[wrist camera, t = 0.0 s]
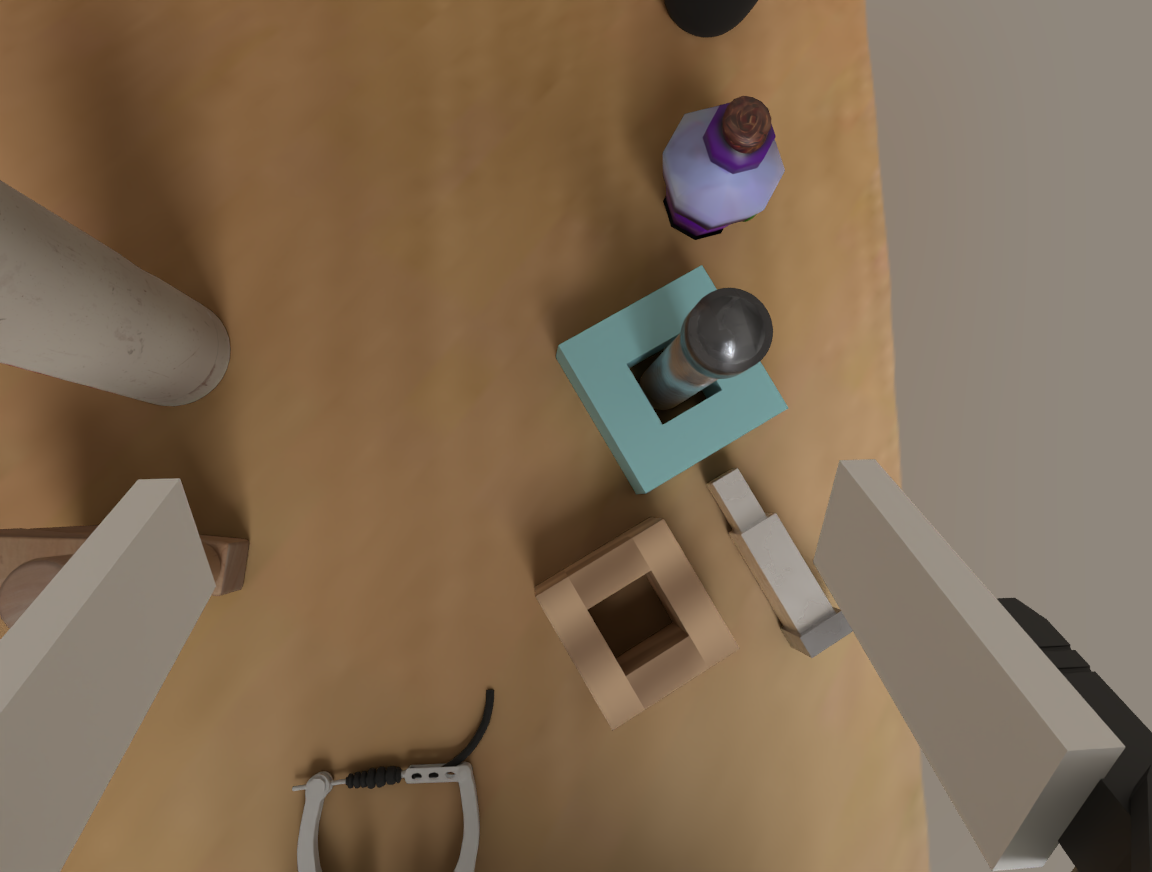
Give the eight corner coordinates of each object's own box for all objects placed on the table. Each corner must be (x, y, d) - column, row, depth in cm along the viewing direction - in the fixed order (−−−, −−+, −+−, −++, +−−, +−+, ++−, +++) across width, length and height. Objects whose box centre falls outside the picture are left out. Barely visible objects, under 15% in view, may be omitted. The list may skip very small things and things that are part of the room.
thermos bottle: (160, 428, 48) (-340, 326, 20) (93, 342, 48) (-490, 123, 20) (253, 362, 49) (-101, 177, 21) (187, 277, 49) (-248, -15, 21)
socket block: (768, 415, 52) (788, 408, 48) (636, 494, 50) (645, 493, 46) (688, 283, 52) (701, 265, 48) (555, 357, 51) (558, 345, 47)
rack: (718, 634, 50) (740, 648, 45) (603, 707, 48) (612, 730, 44) (649, 517, 50) (663, 519, 45) (534, 587, 49) (535, 596, 44)
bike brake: (493, 999, 45) (495, 686, 50) (486, 1065, 39) (489, 697, 44) (287, 1011, 44) (310, 691, 49) (244, 1081, 38) (276, 704, 43)
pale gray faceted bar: (830, 621, 50) (854, 630, 47) (791, 646, 50) (811, 657, 46) (737, 464, 51) (753, 462, 47) (697, 488, 50) (710, 487, 47)
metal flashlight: (701, 397, 51) (788, 345, 34) (653, 425, 51) (717, 387, 34) (672, 348, 52) (744, 273, 35) (623, 375, 51) (673, 313, 34)
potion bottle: (747, 265, 53) (812, 195, 41) (639, 250, 52) (673, 176, 40) (755, 161, 54) (821, 64, 42) (649, 146, 53) (686, 43, 41)
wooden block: (95, 524, 47) (-167, 536, 29) (251, 538, 48) (90, 559, 30) (86, 577, 47) (-185, 622, 29) (244, 591, 47) (75, 643, 30)
